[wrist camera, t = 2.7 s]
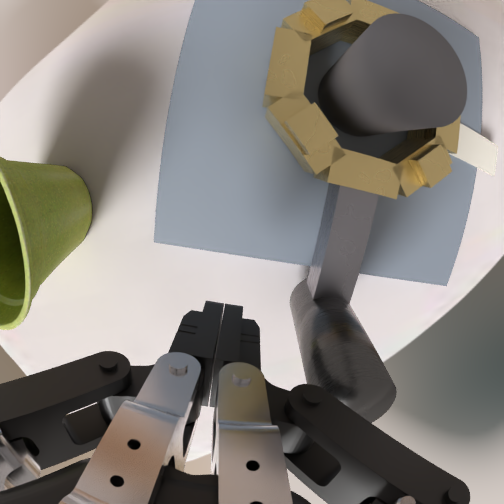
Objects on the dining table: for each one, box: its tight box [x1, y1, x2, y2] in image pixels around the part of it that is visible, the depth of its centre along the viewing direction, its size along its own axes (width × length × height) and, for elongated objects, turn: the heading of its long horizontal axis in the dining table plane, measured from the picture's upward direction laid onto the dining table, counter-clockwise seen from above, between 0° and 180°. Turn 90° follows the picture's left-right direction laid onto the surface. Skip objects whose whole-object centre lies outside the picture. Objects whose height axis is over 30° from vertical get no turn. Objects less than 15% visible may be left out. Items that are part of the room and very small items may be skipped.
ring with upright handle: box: [262, 0, 461, 423], centre depth 10 cm, size 19×10×8 cm, turn 171°
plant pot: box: [0, 157, 92, 330], centre depth 12 cm, size 9×9×9 cm
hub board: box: [154, 0, 498, 286], centre depth 10 cm, size 20×22×8 cm
